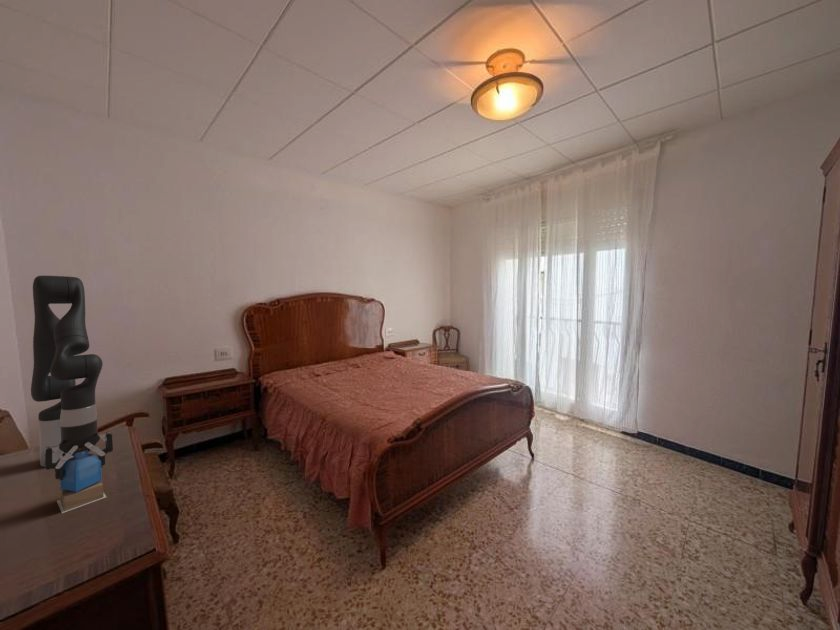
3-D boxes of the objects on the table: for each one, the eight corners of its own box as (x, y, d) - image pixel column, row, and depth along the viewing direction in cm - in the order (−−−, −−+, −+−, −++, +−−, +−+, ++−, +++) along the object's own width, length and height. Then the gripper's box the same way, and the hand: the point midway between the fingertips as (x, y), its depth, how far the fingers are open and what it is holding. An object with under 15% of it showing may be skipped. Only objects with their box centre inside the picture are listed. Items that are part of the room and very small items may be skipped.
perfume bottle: (76, 492, 92) (75, 452, 92) (60, 489, 94) (59, 449, 93) (101, 480, 99) (100, 442, 98) (86, 477, 100) (85, 440, 99)
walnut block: (60, 500, 95) (59, 487, 95) (97, 488, 102) (97, 476, 102) (64, 511, 91) (64, 497, 91) (103, 497, 97) (103, 484, 97)
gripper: (108, 411, 103) (110, 459, 104) (40, 425, 91) (43, 479, 92) (114, 416, 99) (116, 467, 100) (44, 431, 87) (46, 489, 88)
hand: (81, 473), depth 96 cm, fingers closed on perfume bottle, 7 cm apart
